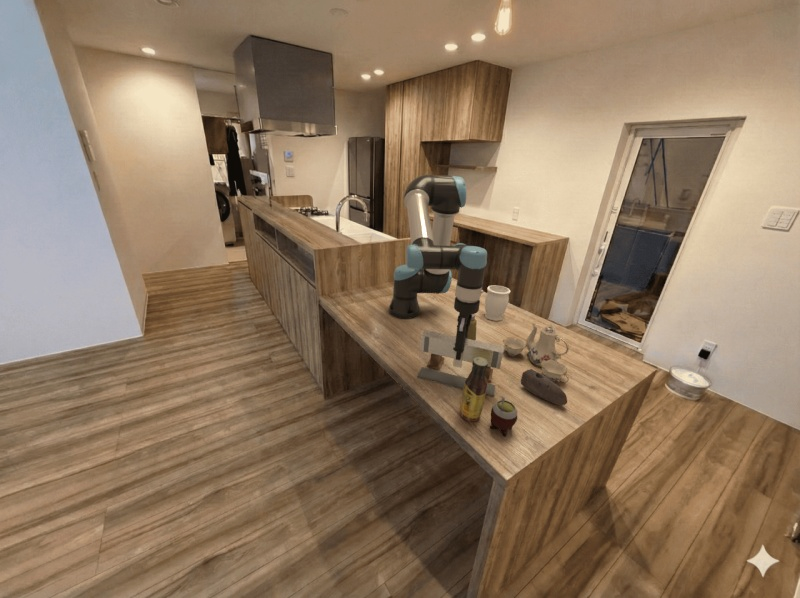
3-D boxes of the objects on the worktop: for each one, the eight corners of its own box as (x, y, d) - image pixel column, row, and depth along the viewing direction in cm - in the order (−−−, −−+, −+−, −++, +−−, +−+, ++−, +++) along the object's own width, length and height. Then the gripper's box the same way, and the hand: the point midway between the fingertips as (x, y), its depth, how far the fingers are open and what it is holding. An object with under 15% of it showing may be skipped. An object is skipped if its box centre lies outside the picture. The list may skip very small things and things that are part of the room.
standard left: (426, 366, 117) (429, 341, 113) (431, 356, 123) (434, 332, 119) (440, 369, 116) (443, 344, 112) (444, 359, 122) (447, 335, 118)
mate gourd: (508, 418, 95) (518, 377, 89) (518, 440, 88) (529, 397, 82) (483, 418, 95) (492, 377, 89) (491, 440, 88) (501, 397, 82)
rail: (420, 350, 108) (421, 335, 105) (423, 344, 111) (424, 329, 109) (499, 369, 100) (503, 352, 98) (500, 362, 104) (503, 346, 101)
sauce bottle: (457, 407, 99) (465, 353, 91) (476, 407, 99) (486, 353, 91) (462, 424, 93) (472, 367, 85) (483, 423, 93) (495, 366, 85)
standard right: (476, 378, 112) (481, 352, 108) (479, 367, 118) (483, 342, 114) (491, 382, 111) (496, 356, 106) (492, 371, 117) (497, 345, 112)
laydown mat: (417, 377, 111) (417, 375, 111) (421, 368, 116) (421, 366, 116) (493, 397, 104) (494, 395, 104) (495, 386, 109) (495, 385, 108)
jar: (502, 313, 161) (508, 285, 155) (506, 323, 152) (512, 294, 146) (481, 311, 162) (485, 284, 156) (484, 321, 153) (489, 292, 147)
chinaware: (493, 355, 129) (497, 320, 122) (518, 340, 138) (524, 306, 130) (559, 395, 109) (569, 355, 101) (584, 374, 117) (595, 336, 110)
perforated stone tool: (568, 406, 102) (574, 388, 99) (560, 413, 99) (566, 395, 96) (526, 381, 112) (530, 365, 109) (517, 387, 109) (521, 370, 106)
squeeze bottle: (475, 342, 134) (482, 303, 127) (473, 352, 127) (479, 311, 120) (456, 338, 137) (461, 300, 129) (453, 348, 130) (458, 308, 122)
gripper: (476, 311, 89) (465, 380, 98) (483, 290, 104) (473, 352, 113) (449, 306, 91) (441, 374, 100) (460, 286, 106) (452, 347, 115)
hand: (458, 362), depth 107 cm, fingers closed on rail, 4 cm apart
